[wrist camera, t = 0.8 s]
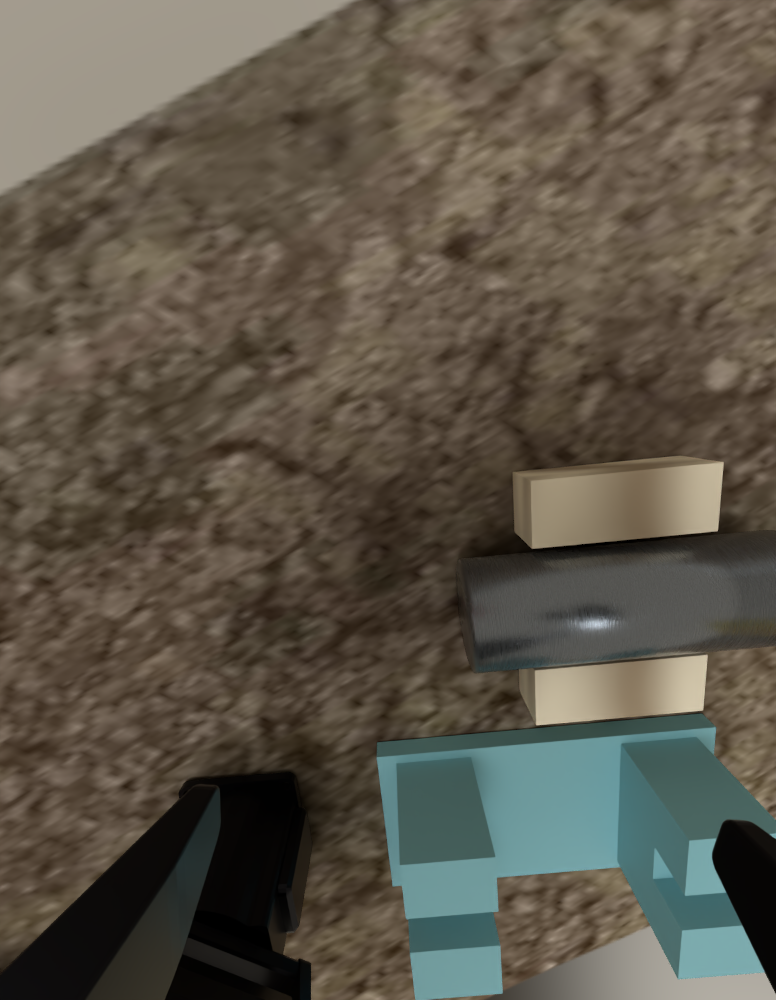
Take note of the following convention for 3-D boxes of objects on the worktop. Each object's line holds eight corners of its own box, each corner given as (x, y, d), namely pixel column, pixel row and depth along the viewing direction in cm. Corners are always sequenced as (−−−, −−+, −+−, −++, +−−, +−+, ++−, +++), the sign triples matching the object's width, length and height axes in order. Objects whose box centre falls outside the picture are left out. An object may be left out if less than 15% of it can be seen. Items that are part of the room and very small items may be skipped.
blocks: (519, 690, 22) (535, 725, 20) (512, 471, 19) (530, 481, 17) (667, 676, 22) (703, 710, 20) (680, 455, 19) (723, 462, 17)
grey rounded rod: (459, 636, 22) (481, 699, 17) (453, 545, 21) (474, 583, 16) (727, 611, 21) (829, 668, 16) (732, 518, 20) (843, 549, 15)
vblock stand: (392, 867, 25) (394, 1010, 19) (377, 742, 23) (374, 857, 17) (691, 842, 24) (787, 978, 19) (701, 713, 23) (813, 820, 17)
